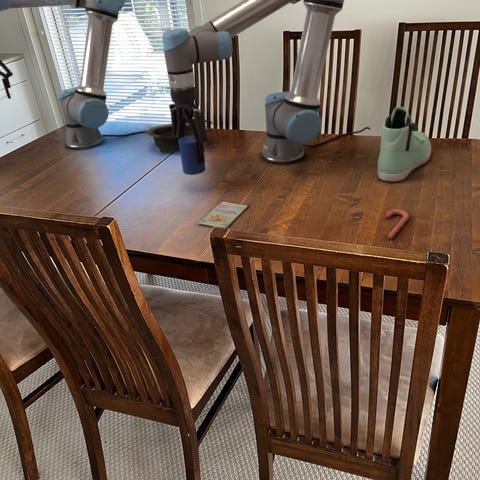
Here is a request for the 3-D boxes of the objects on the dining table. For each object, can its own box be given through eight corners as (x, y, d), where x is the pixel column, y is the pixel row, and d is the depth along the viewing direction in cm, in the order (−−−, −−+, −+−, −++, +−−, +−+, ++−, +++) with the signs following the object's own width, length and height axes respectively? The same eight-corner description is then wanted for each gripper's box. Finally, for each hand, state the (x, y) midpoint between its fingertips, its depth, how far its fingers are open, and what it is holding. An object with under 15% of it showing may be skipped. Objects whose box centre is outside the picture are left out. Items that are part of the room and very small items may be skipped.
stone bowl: (160, 161, 179) (155, 137, 175) (141, 147, 200) (136, 125, 195) (220, 146, 188) (216, 122, 184) (195, 134, 208) (192, 112, 204)
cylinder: (201, 175, 151) (197, 143, 145) (180, 174, 152) (175, 143, 147) (208, 165, 157) (204, 134, 151) (187, 165, 158) (182, 135, 153)
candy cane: (369, 235, 126) (370, 230, 125) (390, 211, 136) (390, 206, 135) (392, 241, 122) (392, 236, 122) (411, 215, 133) (412, 211, 132)
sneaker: (435, 147, 173) (444, 90, 162) (416, 186, 148) (424, 121, 137) (397, 143, 179) (403, 88, 168) (371, 180, 154) (377, 117, 143)
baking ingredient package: (197, 222, 136) (222, 200, 148) (198, 223, 137) (222, 201, 148) (225, 227, 133) (248, 204, 144) (225, 229, 133) (248, 206, 145)
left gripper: (-77, 43, 146) (-51, 112, 157) (8, 31, 157) (28, 96, 168) (-79, 40, 151) (-53, 107, 163) (4, 29, 162) (23, 92, 173)
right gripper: (152, 85, 145) (164, 156, 157) (194, 94, 132) (204, 171, 144) (172, 80, 149) (182, 149, 161) (214, 88, 136) (222, 163, 148)
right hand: (193, 159), depth 153 cm, fingers closed on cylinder, 7 cm apart
